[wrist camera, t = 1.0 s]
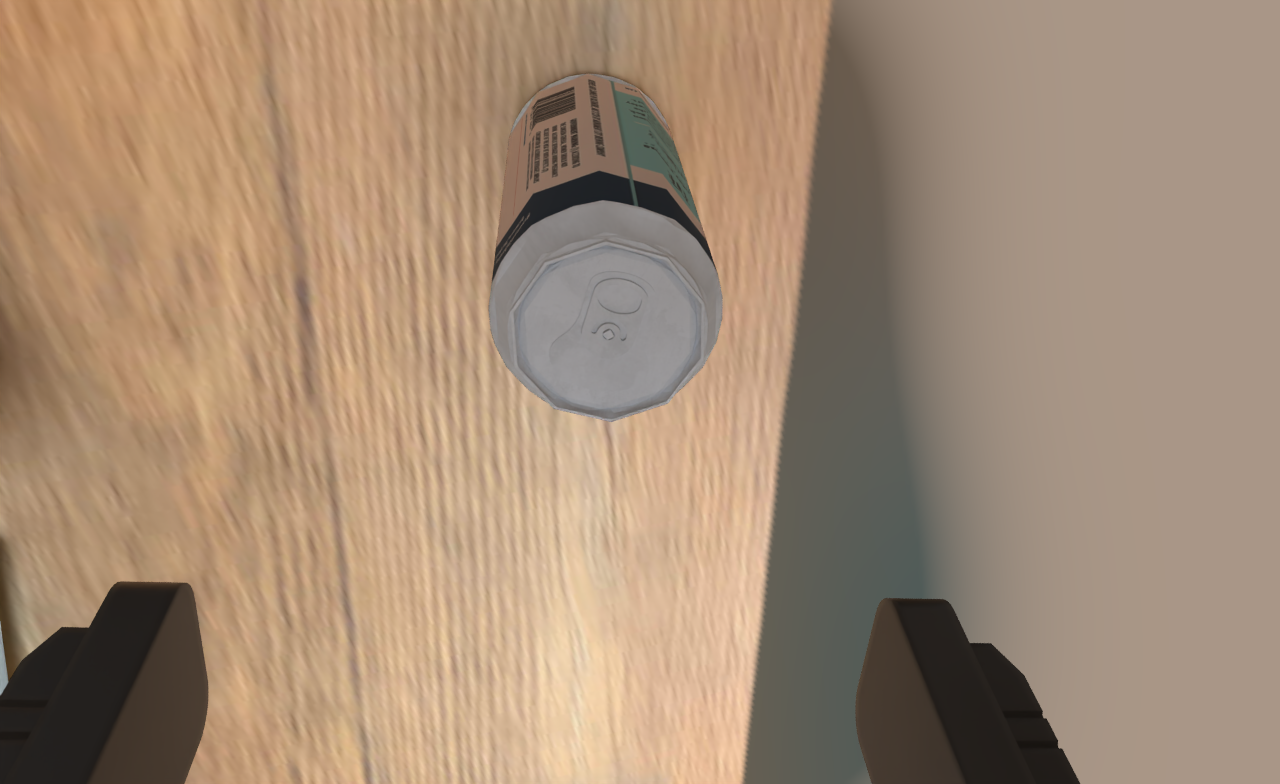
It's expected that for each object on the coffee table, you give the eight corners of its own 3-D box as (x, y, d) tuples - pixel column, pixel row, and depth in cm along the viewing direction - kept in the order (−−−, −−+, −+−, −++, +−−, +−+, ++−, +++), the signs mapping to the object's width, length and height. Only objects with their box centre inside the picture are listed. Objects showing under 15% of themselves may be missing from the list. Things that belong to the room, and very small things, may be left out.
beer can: (491, 205, 32) (461, 410, 22) (531, 48, 30) (518, 191, 20) (644, 246, 33) (685, 460, 23) (693, 96, 31) (764, 257, 21)
